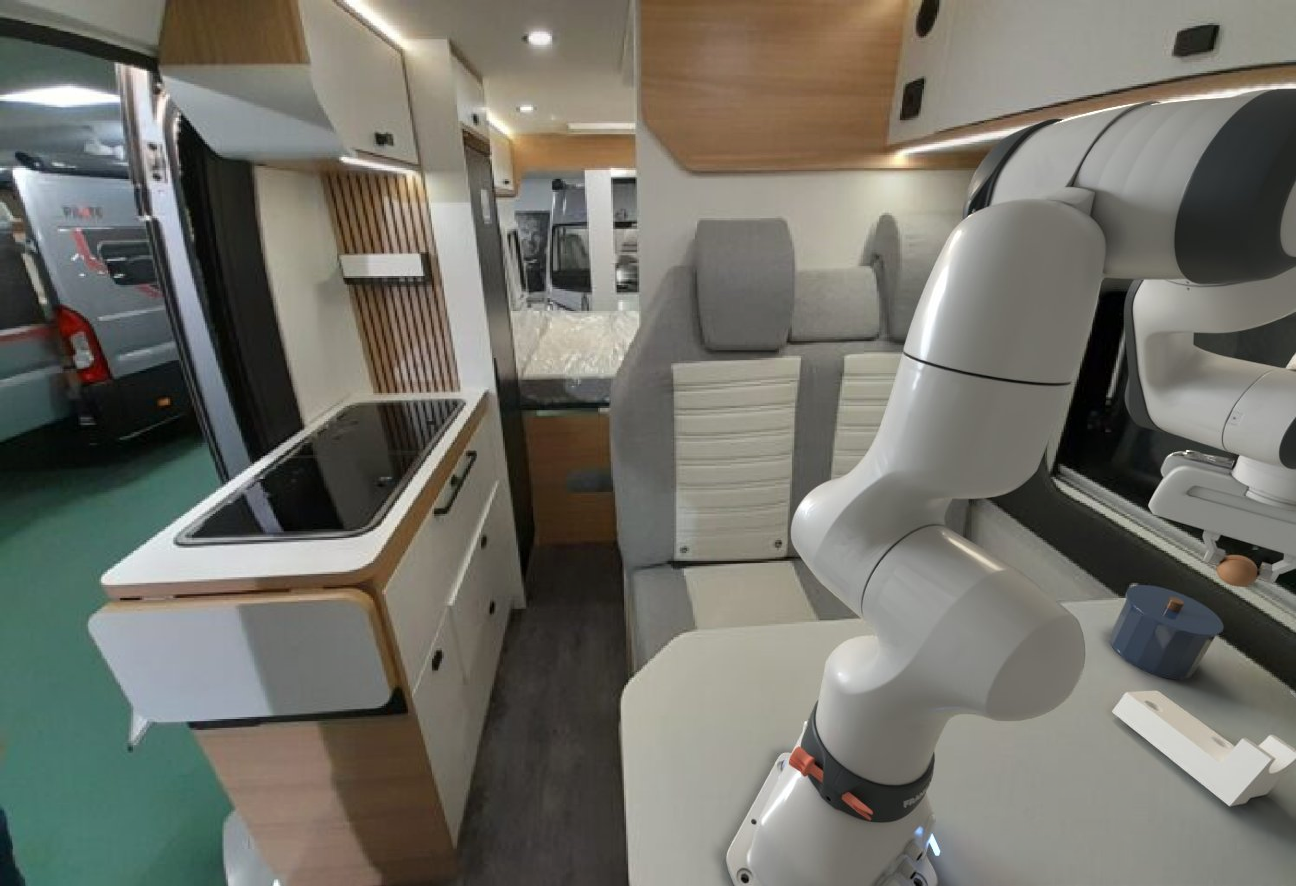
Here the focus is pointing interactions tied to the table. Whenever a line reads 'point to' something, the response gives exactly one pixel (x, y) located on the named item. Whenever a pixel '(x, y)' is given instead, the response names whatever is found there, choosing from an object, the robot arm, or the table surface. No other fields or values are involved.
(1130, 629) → the pot
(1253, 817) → the table surface
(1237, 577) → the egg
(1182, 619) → the pot lid
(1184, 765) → the bracket
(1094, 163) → the robot arm
